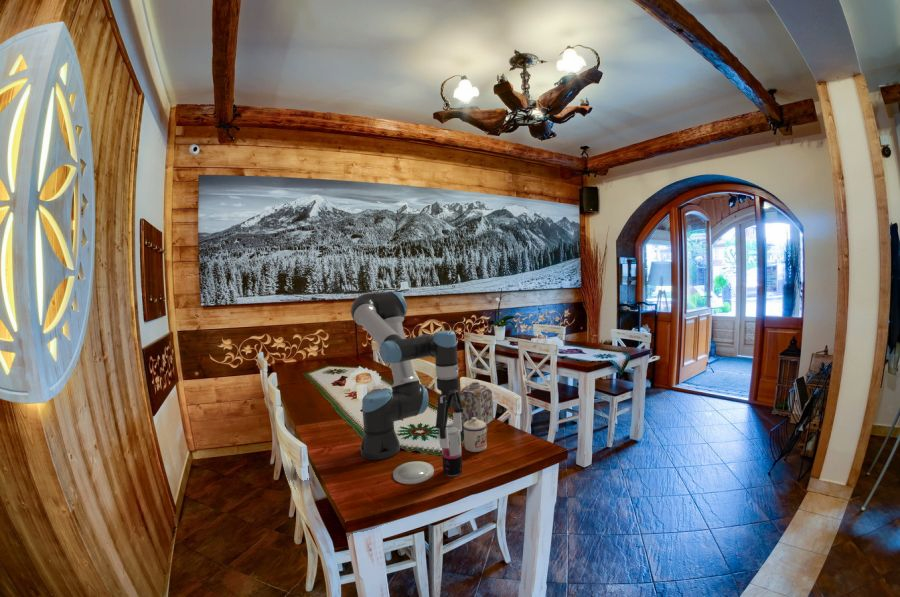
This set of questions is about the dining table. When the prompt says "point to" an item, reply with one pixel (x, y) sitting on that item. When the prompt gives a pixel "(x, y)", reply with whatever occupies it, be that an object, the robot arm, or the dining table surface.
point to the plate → (413, 472)
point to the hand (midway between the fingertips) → (451, 438)
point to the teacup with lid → (475, 435)
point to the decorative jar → (476, 403)
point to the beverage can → (452, 452)
